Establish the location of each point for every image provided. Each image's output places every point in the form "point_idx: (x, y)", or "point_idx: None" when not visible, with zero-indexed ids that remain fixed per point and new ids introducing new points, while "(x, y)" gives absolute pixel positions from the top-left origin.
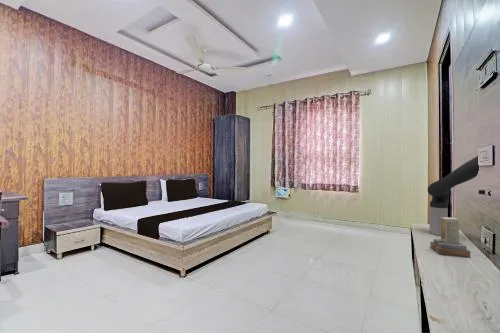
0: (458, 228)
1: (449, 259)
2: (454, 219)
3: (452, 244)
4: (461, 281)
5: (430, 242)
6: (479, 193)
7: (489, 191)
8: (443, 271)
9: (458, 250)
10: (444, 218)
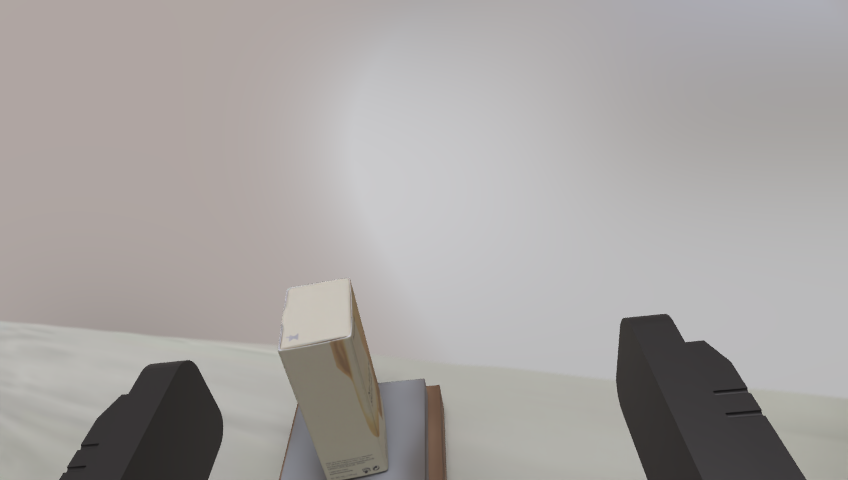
0: (298, 404)
1: (239, 442)
2: (280, 331)
3: (305, 440)
4: (10, 409)
5: (438, 388)
6: (620, 381)
7: (180, 366)
8: (103, 383)
9: (279, 478)
10: (299, 286)
